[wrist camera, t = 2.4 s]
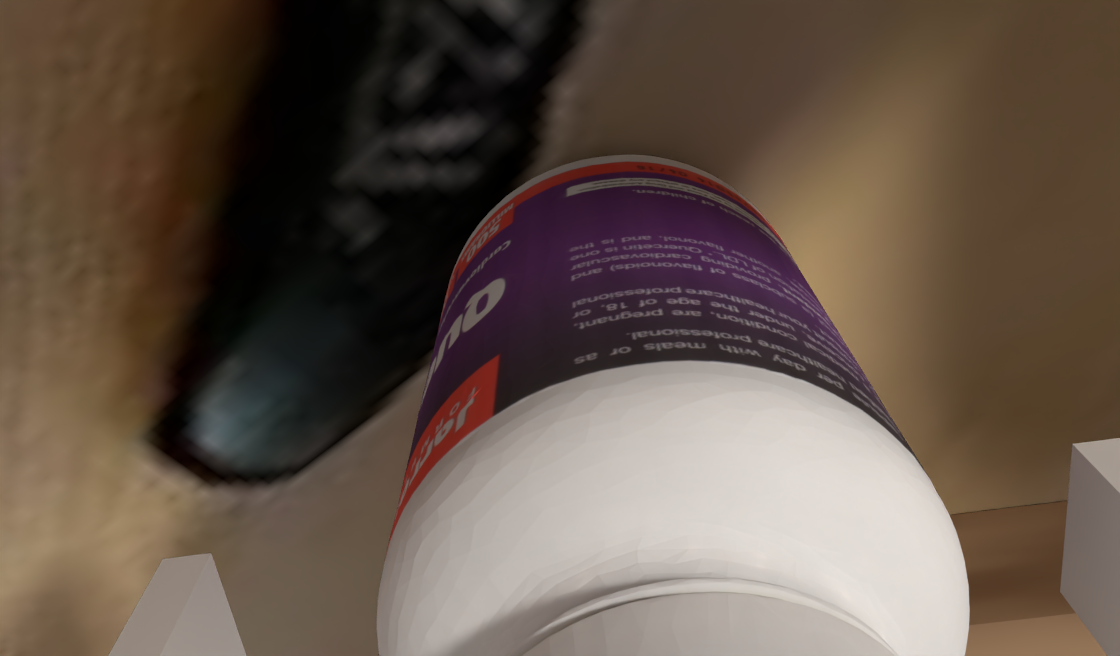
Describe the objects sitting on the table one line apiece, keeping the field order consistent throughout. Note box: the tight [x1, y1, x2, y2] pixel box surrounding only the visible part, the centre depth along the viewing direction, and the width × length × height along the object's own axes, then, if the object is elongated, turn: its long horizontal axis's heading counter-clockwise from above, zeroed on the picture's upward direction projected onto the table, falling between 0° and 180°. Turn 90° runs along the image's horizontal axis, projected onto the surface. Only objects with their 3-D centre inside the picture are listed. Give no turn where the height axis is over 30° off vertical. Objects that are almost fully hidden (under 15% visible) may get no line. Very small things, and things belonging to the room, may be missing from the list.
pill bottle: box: [377, 155, 970, 656], centre depth 17 cm, size 8×8×14 cm
